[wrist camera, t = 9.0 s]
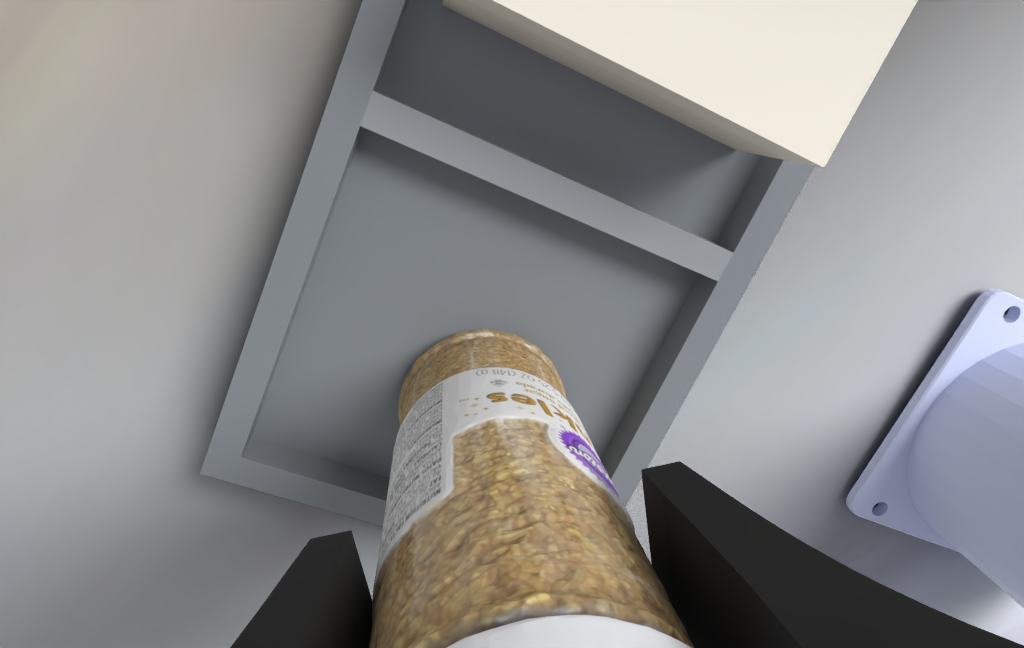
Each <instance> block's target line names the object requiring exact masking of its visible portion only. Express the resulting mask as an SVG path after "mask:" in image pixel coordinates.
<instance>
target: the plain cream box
mask: <svg viewBox="0 0 1024 648" xmlns="http://www.w3.org/2000/svg"><path fill="white" fill-rule="evenodd" d="M917 1H918V0H443V3H442V5H443V6H445V7H447V8H449V9H451V10H453V11H455V12H457V13H459V14H461V15H463V16H465V17H467V18H469V19H471V20H473V21H476V22H478V23H480V24H482V25H484V26H486V27H488V28H490V29H492V30H494V31H496V32H498V33H500V34H502V35H504V36H506V37H508V38H510V39H512V40H514V41H516V42H518V43H520V44H522V45H524V46H526V47H528V48H530V49H532V50H534V51H536V52H538V53H540V54H542V55H544V56H546V57H548V58H550V59H552V60H554V61H557V62H559V63H561V64H563V65H565V66H567V67H569V68H571V69H573V70H575V71H577V72H579V73H581V74H583V75H585V76H587V77H589V78H591V79H593V80H595V81H597V82H599V83H601V84H603V85H605V86H607V87H609V88H611V89H613V90H615V91H617V92H619V93H621V94H623V95H625V96H627V97H629V98H631V99H633V100H636V101H638V102H640V103H642V104H644V105H646V106H648V107H650V108H652V109H654V110H656V111H658V112H660V113H662V114H664V115H666V116H668V117H670V118H672V119H674V120H676V121H678V122H680V123H682V124H684V125H686V126H688V127H690V128H692V129H694V130H696V131H698V132H700V133H702V134H704V135H706V136H708V137H710V138H712V139H714V140H717V141H719V142H721V143H723V144H725V145H727V146H729V147H731V148H733V149H735V150H737V151H742V152H747V153H752V154H757V155H762V156H767V157H772V158H777V159H782V160H788V161H793V162H798V163H803V164H808V165H813V166H818V167H823V168H824V167H825V165H826V163H827V162H828V160H829V158H830V156H831V154H832V153H833V151H834V149H835V147H836V146H837V144H838V142H839V140H840V138H841V137H842V135H843V133H844V131H845V129H846V128H847V126H848V124H849V122H850V120H851V119H852V117H853V115H854V113H855V112H856V110H857V108H858V106H859V104H860V103H861V101H862V99H863V97H864V95H865V94H866V92H867V90H868V88H869V87H870V85H871V83H872V81H873V79H874V78H875V76H876V74H877V72H878V70H879V69H880V67H881V65H882V63H883V61H884V60H885V58H886V56H887V54H888V53H889V51H890V49H891V47H892V45H893V44H894V42H895V40H896V38H897V36H898V35H899V33H900V31H901V29H902V28H903V26H904V24H905V22H906V20H907V19H908V17H909V15H910V13H911V11H912V10H913V8H914V6H915V4H916V2H917Z"/></svg>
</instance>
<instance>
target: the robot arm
mask: <svg viewBox="0 0 1024 648" xmlns="http://www.w3.org/2000/svg"><path fill="white" fill-rule="evenodd" d="M1008 308H1009V311H1008V314H1007V315H1006V316H1005V317H1003V315H1004V313H1005V311H1006V310H1007V309H1008ZM641 472H642V481H643V490H644V499H645V508H646V517H647V526H648V535H649V544H650V553H651V562H652V567H653V569H654V571H655V572H656V574H657V576H658V578H659V579H660V581H661V582H662V584H663V585H664V588H665V590H666V593H667V595H668V598H669V600H670V603H671V604H672V606H673V608H674V610H675V612H676V614H677V616H678V617H679V619H680V620H681V622H682V623H683V625H684V627H685V629H686V631H687V634H688V636H689V639H690V641H691V642H692V644H693V646H694V647H695V648H1024V646H1023V645H1021V644H1018V643H1015V642H1013V641H1010V640H1008V639H1005V638H1003V637H1000V636H998V635H995V634H993V633H990V632H987V631H985V630H982V629H980V628H977V627H975V626H972V625H970V624H967V623H965V622H963V621H960V620H958V619H956V618H953V617H951V616H949V615H946V614H944V613H942V612H939V611H937V610H935V609H932V608H930V607H928V606H926V605H924V604H922V603H920V602H918V601H915V600H913V599H911V598H909V597H907V596H905V595H903V594H901V593H898V592H896V591H894V590H892V589H890V588H888V587H886V586H884V585H881V584H879V583H877V582H875V581H873V580H871V579H869V578H868V577H866V576H864V575H862V574H860V573H858V572H856V571H854V570H852V569H850V568H848V567H847V566H845V565H843V564H841V563H839V562H838V561H836V560H834V559H832V558H830V557H829V556H827V555H825V554H823V553H821V552H820V551H818V550H816V549H814V548H812V547H811V546H809V545H807V544H805V543H804V542H802V541H800V540H799V539H797V538H795V537H794V536H792V535H790V534H789V533H787V532H785V531H784V530H782V529H780V528H779V527H777V526H776V525H774V524H772V523H771V522H769V521H768V520H766V519H765V518H763V517H761V516H760V515H758V514H757V513H755V512H754V511H752V510H751V509H749V508H748V507H746V506H744V505H743V504H741V503H740V502H739V501H737V500H736V499H734V498H733V497H731V496H730V495H728V494H727V493H725V492H724V491H722V490H721V489H719V488H718V487H716V486H715V485H714V484H712V483H711V482H709V481H708V480H706V479H705V478H703V477H702V476H700V475H699V474H698V473H696V472H695V471H693V470H692V469H690V468H689V467H687V466H686V465H684V464H683V463H681V462H675V463H670V464H666V465H661V466H656V467H651V468H647V469H642V470H641ZM877 503H879V504H878V505H877V506H876V507H875V508H873V506H875V505H876V504H877ZM846 504H847V506H848V508H849V509H850V510H851V511H852V512H853V513H854V514H855V515H857V516H859V517H861V518H864V519H867V520H870V521H873V522H875V523H878V524H881V525H884V526H887V527H889V528H892V529H895V530H898V531H901V532H903V533H906V534H909V535H912V536H915V537H917V538H920V539H923V540H926V541H929V542H931V543H934V544H937V545H940V546H943V547H945V548H948V549H951V550H954V551H957V552H959V553H961V554H962V555H964V556H965V557H966V558H967V559H968V560H969V561H970V562H972V563H973V564H974V565H975V566H976V567H977V568H978V569H980V570H981V571H982V572H983V573H984V574H985V575H986V576H988V577H989V578H990V579H991V580H992V581H993V582H994V583H996V584H997V585H998V586H999V587H1000V588H1001V589H1002V590H1004V591H1005V592H1006V593H1007V594H1008V595H1009V596H1010V597H1012V598H1013V599H1014V600H1015V601H1016V602H1017V603H1018V604H1020V605H1021V606H1022V607H1023V608H1024V300H1022V299H1020V298H1018V297H1016V296H1014V295H1012V294H1010V293H1008V292H1005V291H1002V290H999V289H995V288H994V289H989V290H987V291H985V292H983V293H982V294H981V295H980V296H979V297H978V298H977V299H976V301H975V303H974V304H973V306H972V307H971V309H970V310H969V312H968V313H967V315H966V316H965V318H964V319H963V321H962V322H961V324H960V325H959V327H958V328H957V330H956V331H955V333H954V334H953V336H952V337H951V339H950V340H949V342H948V344H947V345H946V347H945V348H944V350H943V351H942V353H941V354H940V356H939V357H938V359H937V360H936V362H935V363H934V365H933V366H932V368H931V369H930V371H929V372H928V374H927V375H926V377H925V378H924V380H923V381H922V383H921V385H920V386H919V388H918V389H917V391H916V392H915V394H914V395H913V397H912V398H911V400H910V401H909V403H908V404H907V406H906V407H905V409H904V410H903V412H902V413H901V415H900V416H899V418H898V419H897V421H896V422H895V424H894V426H893V427H892V429H891V430H890V432H889V433H888V435H887V436H886V438H885V439H884V441H883V442H882V444H881V445H880V447H879V448H878V450H877V451H876V453H875V454H874V456H873V457H872V459H871V460H870V462H869V463H868V465H867V467H866V468H865V470H864V471H863V473H862V474H861V476H860V477H859V479H858V480H857V482H856V483H855V485H854V486H853V488H852V489H851V491H850V492H849V494H848V496H847V499H846ZM372 624H373V623H372V599H371V595H370V592H369V588H368V585H367V582H366V578H365V575H364V572H363V568H362V565H361V562H360V558H359V555H358V552H357V548H356V545H355V542H354V538H353V535H352V532H351V531H346V532H341V533H337V534H332V535H327V536H322V537H318V538H313V539H310V541H309V542H308V543H307V545H306V546H305V547H304V549H303V550H302V551H301V553H300V554H299V555H298V557H297V558H296V559H295V561H294V562H293V564H292V565H291V566H290V568H289V569H288V570H287V572H286V573H285V575H284V576H283V577H282V579H281V580H280V582H279V583H278V584H277V586H276V587H275V588H274V590H273V591H272V593H271V594H270V595H269V597H268V598H267V599H266V601H265V602H264V604H263V605H262V606H261V608H260V609H259V610H258V612H257V613H256V614H255V616H254V617H253V618H252V620H251V621H250V622H249V624H248V625H247V626H246V628H245V629H244V630H243V632H242V633H241V634H240V636H239V637H238V638H237V640H236V641H235V642H234V644H233V645H232V646H231V648H369V643H370V639H371V632H372Z"/></svg>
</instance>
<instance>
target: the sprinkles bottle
mask: <svg viewBox="0 0 1024 648" xmlns="http://www.w3.org/2000/svg"><path fill="white" fill-rule="evenodd" d="M398 417H399V422H400V428H399V432H398V434H397V438H396V442H395V446H394V452H393V459H392V466H391V473H390V480H389V487H388V494H387V502H386V508H385V515H384V522H383V529H382V536H381V543H380V550H379V557H378V564H377V570H376V576H375V582H374V590H373V601H372V623H373V624H372V632H371V639H370V643H369V648H695V647H694V646H693V644H692V642H691V641H690V639H689V636H688V634H687V631H686V629H685V627H684V625H683V623H682V622H681V620H680V619H679V617H678V616H677V614H676V612H675V610H674V608H673V606H672V604H671V603H670V600H669V598H668V595H667V593H666V590H665V588H664V585H663V584H662V582H661V581H660V579H659V578H658V576H657V574H656V572H655V571H654V569H653V567H652V565H651V563H650V561H649V559H648V558H647V556H646V554H645V552H644V550H643V548H642V546H641V544H640V542H639V540H638V539H637V537H636V535H635V528H634V525H633V522H632V520H631V518H630V516H629V514H628V512H627V510H626V508H625V506H624V504H623V502H622V500H621V498H620V496H619V495H618V493H617V491H616V489H615V487H614V485H613V483H612V481H611V479H610V478H609V476H608V474H607V472H606V470H605V468H604V466H603V465H602V463H601V461H600V459H599V457H598V455H597V453H596V451H595V449H594V447H593V445H592V443H591V441H590V439H589V437H588V435H587V433H586V430H585V428H584V426H583V424H582V422H581V420H580V418H579V417H578V415H577V414H576V412H575V410H574V409H573V407H572V406H571V405H570V403H569V402H568V401H567V399H566V395H565V390H564V386H563V383H562V381H561V378H560V376H559V374H558V372H557V370H556V368H555V366H554V364H553V363H552V362H551V360H550V359H549V358H548V357H547V356H546V355H545V354H544V353H543V352H542V351H541V350H540V349H539V348H538V347H537V346H536V345H534V344H532V343H530V342H528V341H527V340H525V339H523V338H521V337H519V336H517V335H514V334H511V333H506V332H501V331H497V330H488V329H479V330H472V331H465V332H461V333H457V334H455V335H453V336H451V337H449V338H446V339H444V340H442V341H440V342H438V343H437V344H435V345H434V346H433V347H431V348H429V349H428V351H426V352H425V353H424V354H422V355H421V356H420V357H419V358H418V359H417V360H416V361H415V363H414V365H413V367H412V369H411V371H410V372H409V374H408V375H407V376H406V378H405V381H404V383H403V386H402V389H401V392H400V396H399V404H398Z"/></svg>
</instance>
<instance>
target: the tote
mask: <svg viewBox="0 0 1024 648" xmlns="http://www.w3.org/2000/svg"><path fill="white" fill-rule="evenodd" d="M442 3H443V0H362V3H361V6H360V9H359V12H358V15H357V18H356V21H355V24H354V27H353V30H352V32H351V35H350V38H349V41H348V44H347V47H346V50H345V53H344V56H343V59H342V61H341V64H340V67H339V70H338V73H337V76H336V79H335V82H334V85H333V88H332V91H331V93H330V96H329V99H328V102H327V105H326V108H325V111H324V114H323V117H322V120H321V123H320V125H319V128H318V131H317V134H316V137H315V140H314V143H313V146H312V149H311V152H310V154H309V157H308V160H307V163H306V166H305V169H304V172H303V175H302V178H301V181H300V184H299V186H298V189H297V192H296V195H295V198H294V201H293V204H292V207H291V210H290V213H289V216H288V218H287V221H286V224H285V227H284V230H283V233H282V236H281V239H280V242H279V245H278V247H277V250H276V253H275V256H274V259H273V262H272V265H271V268H270V271H269V274H268V277H267V279H266V282H265V285H264V288H263V291H262V294H261V297H260V300H259V303H258V306H257V309H256V311H255V314H254V317H253V320H252V323H251V326H250V329H249V332H248V335H247V338H246V340H245V343H244V346H243V349H242V352H241V355H240V358H239V361H238V364H237V367H236V370H235V372H234V375H233V378H232V381H231V384H230V387H229V390H228V393H227V396H226V399H225V402H224V404H223V407H222V410H221V413H220V416H219V419H218V422H217V425H216V428H215V431H214V433H213V436H212V439H211V442H210V445H209V448H208V451H207V454H206V457H205V460H204V463H203V465H202V468H201V471H200V474H202V475H206V476H209V477H213V478H216V479H219V480H223V481H226V482H230V483H233V484H237V485H240V486H244V487H247V488H250V489H254V490H257V491H261V492H264V493H268V494H271V495H275V496H278V497H281V498H285V499H288V500H292V501H295V502H299V503H302V504H306V505H309V506H312V507H316V508H319V509H323V510H326V511H330V512H333V513H337V514H340V515H343V516H347V517H350V518H354V519H357V520H361V521H364V522H368V523H371V524H375V525H378V526H381V527H383V522H384V515H385V508H386V502H387V494H388V487H389V480H390V473H391V466H392V459H393V452H394V446H395V442H396V438H397V434H398V432H399V428H400V422H399V417H398V404H399V396H400V392H401V389H402V386H403V383H404V381H405V378H406V376H407V375H408V374H409V372H410V371H411V369H412V367H413V365H414V363H415V361H416V360H417V359H418V358H419V357H420V356H421V355H422V354H424V353H425V352H426V351H428V349H429V348H431V347H433V346H434V345H435V344H437V343H438V342H440V341H442V340H444V339H446V338H449V337H451V336H453V335H455V334H457V333H461V332H465V331H472V330H479V329H488V330H497V331H501V332H506V333H511V334H514V335H517V336H519V337H521V338H523V339H525V340H527V341H528V342H530V343H532V344H534V345H536V346H537V347H538V348H539V349H540V350H541V351H542V352H543V353H544V354H545V355H546V356H547V357H548V358H549V359H550V360H551V362H552V363H553V364H554V366H555V368H556V370H557V372H558V374H559V376H560V378H561V381H562V383H563V386H564V390H565V395H566V399H567V401H568V402H569V403H570V405H571V406H572V407H573V409H574V410H575V412H576V414H577V415H578V417H579V418H580V420H581V422H582V424H583V426H584V428H585V430H586V433H587V435H588V437H589V439H590V441H591V443H592V445H593V447H594V449H595V451H596V453H597V455H598V457H599V459H600V461H601V463H602V465H603V466H604V468H605V470H606V472H607V474H608V476H609V478H610V479H611V481H612V483H613V485H614V487H615V489H616V491H617V493H618V495H619V496H620V498H621V500H622V502H623V504H624V506H625V507H626V505H627V503H628V501H629V500H630V498H631V496H632V494H633V492H634V491H635V489H636V487H637V485H638V483H639V482H640V480H641V478H642V472H641V470H642V469H647V467H648V465H649V463H650V462H651V460H652V458H653V456H654V454H655V453H656V451H657V449H658V447H659V445H660V444H661V442H662V440H663V438H664V436H665V435H666V433H667V431H668V429H669V427H670V426H671V424H672V422H673V420H674V418H675V417H676V415H677V413H678V411H679V409H680V408H681V406H682V404H683V402H684V400H685V399H686V397H687V395H688V393H689V391H690V390H691V388H692V386H693V384H694V382H695V381H696V379H697V377H698V375H699V373H700V372H701V370H702V368H703V366H704V364H705V363H706V361H707V359H708V357H709V355H710V354H711V352H712V350H713V348H714V346H715V345H716V343H717V341H718V339H719V337H720V336H721V334H722V332H723V330H724V328H725V327H726V325H727V323H728V321H729V319H730V318H731V316H732V314H733V312H734V310H735V309H736V307H737V305H738V303H739V301H740V300H741V298H742V296H743V294H744V292H745V291H746V289H747V287H748V285H749V283H750V282H751V280H752V278H753V276H754V274H755V273H756V271H757V269H758V267H759V265H760V264H761V262H762V260H763V258H764V256H765V254H766V253H767V251H768V249H769V247H770V245H771V244H772V242H773V240H774V238H775V236H776V235H777V233H778V231H779V229H780V227H781V226H782V224H783V222H784V220H785V218H786V217H787V215H788V213H789V211H790V209H791V208H792V206H793V204H794V202H795V200H796V199H797V197H798V195H799V193H800V191H801V190H802V188H803V186H804V184H805V182H806V181H807V179H808V177H809V175H810V173H811V172H812V170H813V168H814V166H813V165H808V164H803V163H798V162H793V161H788V160H782V159H777V158H772V157H767V156H762V155H757V154H752V153H747V152H742V151H737V150H735V149H733V148H731V147H729V146H727V145H725V144H723V143H721V142H719V141H717V140H714V139H712V138H710V137H708V136H706V135H704V134H702V133H700V132H698V131H696V130H694V129H692V128H690V127H688V126H686V125H684V124H682V123H680V122H678V121H676V120H674V119H672V118H670V117H668V116H666V115H664V114H662V113H660V112H658V111H656V110H654V109H652V108H650V107H648V106H646V105H644V104H642V103H640V102H638V101H636V100H633V99H631V98H629V97H627V96H625V95H623V94H621V93H619V92H617V91H615V90H613V89H611V88H609V87H607V86H605V85H603V84H601V83H599V82H597V81H595V80H593V79H591V78H589V77H587V76H585V75H583V74H581V73H579V72H577V71H575V70H573V69H571V68H569V67H567V66H565V65H563V64H561V63H559V62H557V61H554V60H552V59H550V58H548V57H546V56H544V55H542V54H540V53H538V52H536V51H534V50H532V49H530V48H528V47H526V46H524V45H522V44H520V43H518V42H516V41H514V40H512V39H510V38H508V37H506V36H504V35H502V34H500V33H498V32H496V31H494V30H492V29H490V28H488V27H486V26H484V25H482V24H480V23H478V22H476V21H473V20H471V19H469V18H467V17H465V16H463V15H461V14H459V13H457V12H455V11H453V10H451V9H449V8H447V7H445V6H443V5H442Z"/></svg>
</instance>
